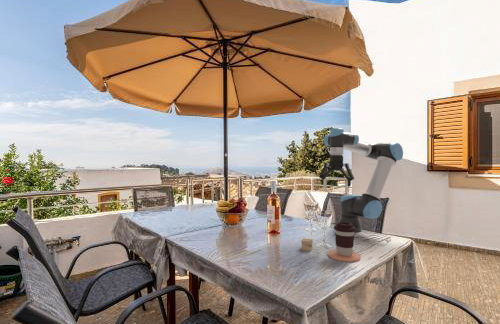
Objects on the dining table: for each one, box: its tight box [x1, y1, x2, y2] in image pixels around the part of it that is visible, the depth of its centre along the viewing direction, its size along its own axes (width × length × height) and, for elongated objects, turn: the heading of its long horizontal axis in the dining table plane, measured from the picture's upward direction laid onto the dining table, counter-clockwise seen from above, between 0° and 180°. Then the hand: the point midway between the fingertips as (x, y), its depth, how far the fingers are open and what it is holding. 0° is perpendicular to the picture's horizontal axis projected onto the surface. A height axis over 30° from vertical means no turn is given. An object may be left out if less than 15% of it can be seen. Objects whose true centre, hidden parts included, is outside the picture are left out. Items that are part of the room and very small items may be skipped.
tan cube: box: [300, 237, 313, 252], centre depth 145 cm, size 5×5×5 cm
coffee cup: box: [333, 221, 356, 256], centre depth 135 cm, size 10×10×15 cm
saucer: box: [327, 248, 362, 263], centre depth 135 cm, size 15×15×1 cm
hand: (335, 191), depth 162 cm, fingers open, 13 cm apart
